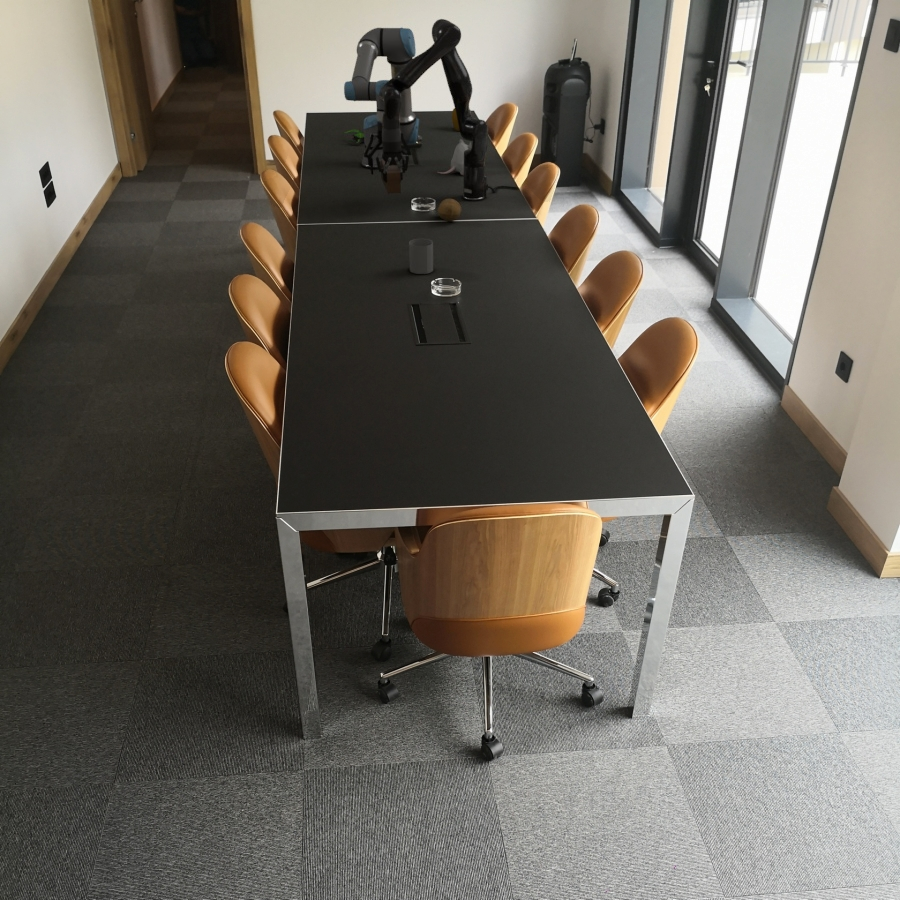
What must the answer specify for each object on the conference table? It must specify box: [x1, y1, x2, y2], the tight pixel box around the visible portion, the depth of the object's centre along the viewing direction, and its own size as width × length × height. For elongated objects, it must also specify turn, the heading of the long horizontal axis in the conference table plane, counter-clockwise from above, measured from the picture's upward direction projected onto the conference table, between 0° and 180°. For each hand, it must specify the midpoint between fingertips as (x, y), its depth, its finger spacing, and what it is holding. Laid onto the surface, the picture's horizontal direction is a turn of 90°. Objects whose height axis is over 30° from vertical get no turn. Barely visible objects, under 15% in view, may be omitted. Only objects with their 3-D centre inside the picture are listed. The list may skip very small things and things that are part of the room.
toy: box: [437, 138, 472, 176], centre depth 408 cm, size 9×24×15 cm, turn 137°
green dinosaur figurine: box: [343, 129, 365, 146], centre depth 465 cm, size 6×13×30 cm
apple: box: [451, 107, 472, 132], centre depth 487 cm, size 11×11×13 cm
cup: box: [408, 237, 434, 275], centre depth 305 cm, size 8×8×10 cm
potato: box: [437, 198, 462, 222], centre depth 353 cm, size 10×14×8 cm
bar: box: [380, 158, 402, 195], centre depth 364 cm, size 24×5×8 cm, turn 11°
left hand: (387, 173), depth 371 cm, fingers open, 13 cm apart
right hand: (393, 181), depth 357 cm, fingers closed on bar, 5 cm apart
